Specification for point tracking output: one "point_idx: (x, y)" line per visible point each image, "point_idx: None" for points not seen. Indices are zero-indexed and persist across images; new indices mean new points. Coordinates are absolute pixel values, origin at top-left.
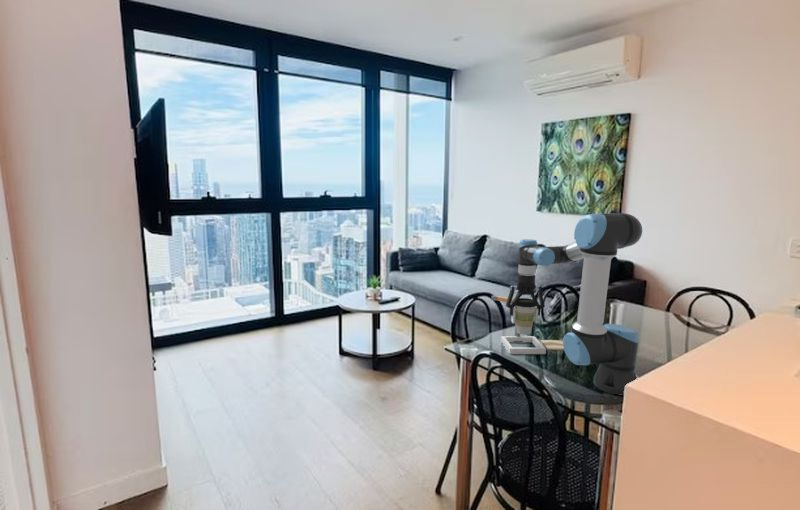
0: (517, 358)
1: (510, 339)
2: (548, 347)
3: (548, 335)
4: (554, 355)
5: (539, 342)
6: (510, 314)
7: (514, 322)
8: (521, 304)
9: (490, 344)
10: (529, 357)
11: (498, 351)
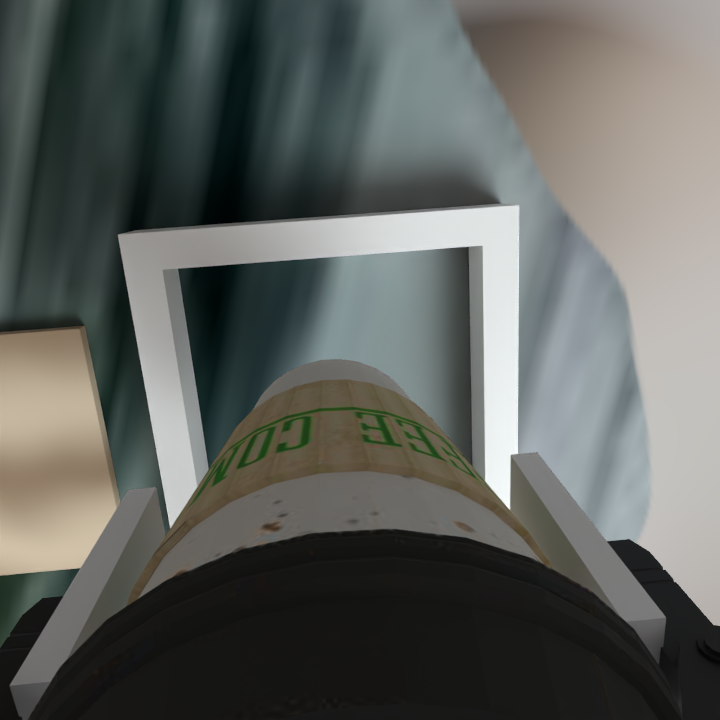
0: (453, 86)
1: None
2: (79, 380)
3: None
4: (50, 198)
5: (158, 414)
6: (647, 553)
7: (516, 460)
8: (575, 658)
9: (616, 437)
10: (323, 123)
11: (592, 266)
